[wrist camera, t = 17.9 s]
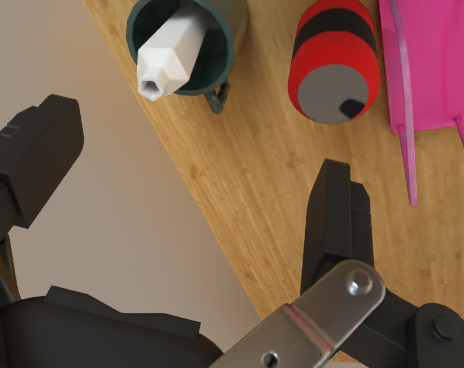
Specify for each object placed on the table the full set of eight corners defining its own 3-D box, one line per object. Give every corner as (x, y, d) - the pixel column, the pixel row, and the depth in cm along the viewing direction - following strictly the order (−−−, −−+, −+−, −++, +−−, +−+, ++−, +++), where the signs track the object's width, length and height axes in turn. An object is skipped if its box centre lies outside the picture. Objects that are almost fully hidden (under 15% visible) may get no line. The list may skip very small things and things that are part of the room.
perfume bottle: (180, 35, 44) (130, 113, 34) (172, -8, 41) (115, 64, 31) (221, 34, 43) (183, 115, 33) (216, -9, 40) (173, 65, 30)
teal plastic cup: (136, -20, 42) (104, 10, 36) (226, -57, 38) (206, -29, 32) (192, 92, 50) (174, 131, 44) (271, 71, 46) (261, 111, 41)
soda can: (340, 78, 45) (340, 146, 37) (282, 43, 44) (269, 105, 35) (389, 21, 40) (402, 85, 32) (326, -22, 38) (322, 33, 30)
